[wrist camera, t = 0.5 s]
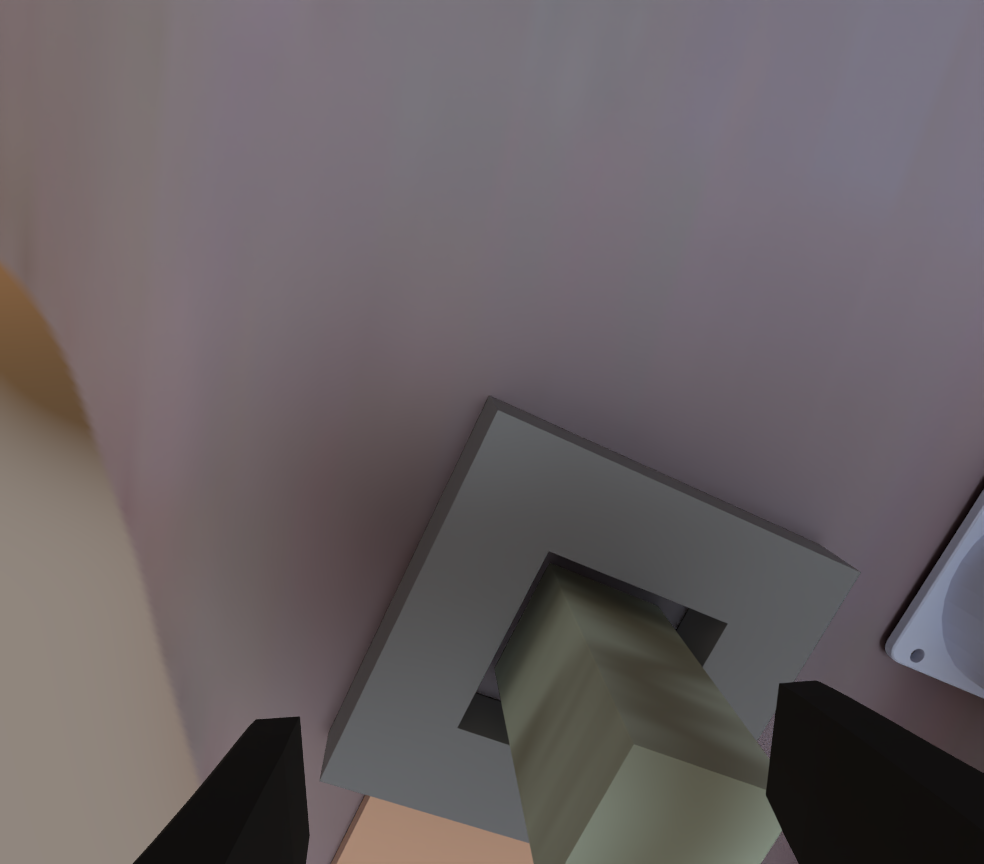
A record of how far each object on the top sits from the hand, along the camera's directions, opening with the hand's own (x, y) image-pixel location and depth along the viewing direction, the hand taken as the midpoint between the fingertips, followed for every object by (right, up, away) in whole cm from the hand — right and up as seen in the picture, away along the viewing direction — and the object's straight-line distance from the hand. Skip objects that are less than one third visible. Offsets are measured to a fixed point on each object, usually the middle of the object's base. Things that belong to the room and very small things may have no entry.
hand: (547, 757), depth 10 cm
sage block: (+2, -2, +11) cm, 12 cm away
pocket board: (+2, -2, +11) cm, 12 cm away
